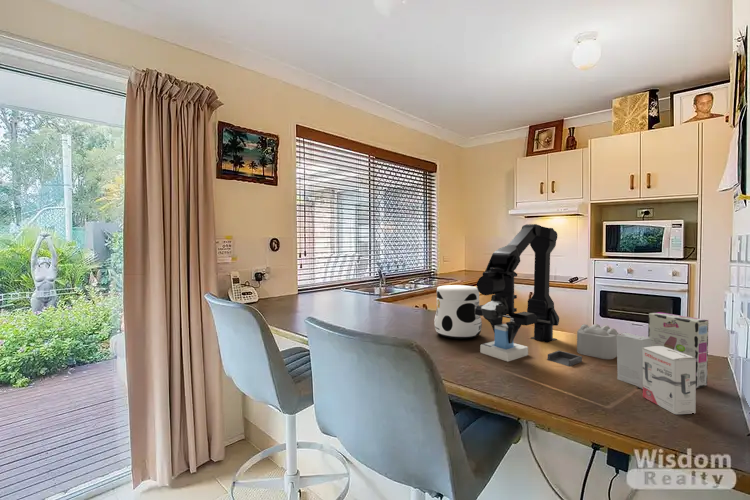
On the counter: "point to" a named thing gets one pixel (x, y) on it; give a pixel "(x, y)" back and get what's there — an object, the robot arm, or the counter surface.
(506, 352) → the port
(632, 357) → the skincare box
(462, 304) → the milk container
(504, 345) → the plug
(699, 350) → the candy bar box
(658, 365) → the ink box
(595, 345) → the grey lumpy container
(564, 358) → the grey shallow square piece
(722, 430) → the counter surface
